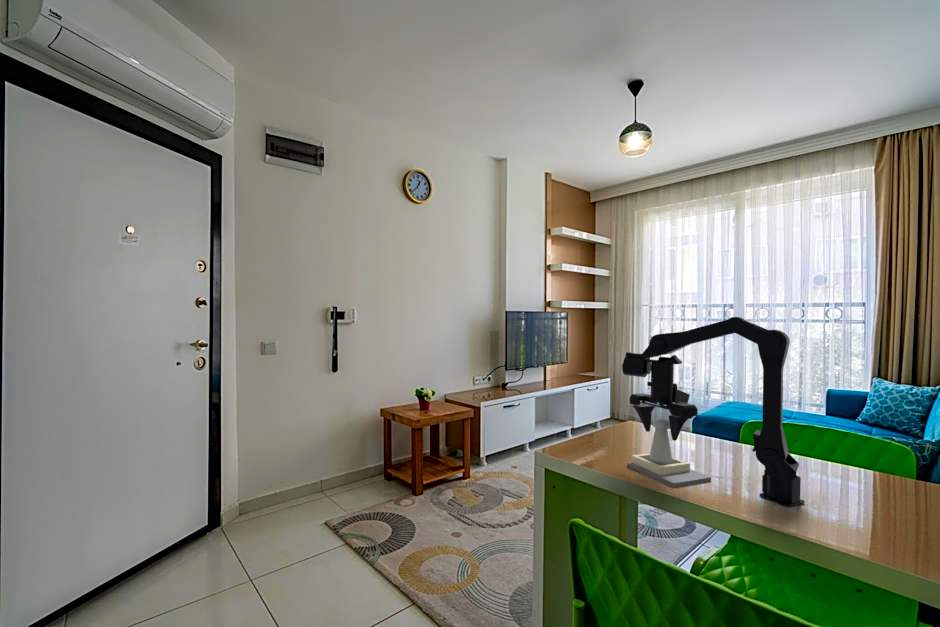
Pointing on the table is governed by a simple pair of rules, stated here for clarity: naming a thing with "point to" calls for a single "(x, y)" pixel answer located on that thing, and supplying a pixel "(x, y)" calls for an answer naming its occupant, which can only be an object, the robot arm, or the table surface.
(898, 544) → the table surface
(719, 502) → the table surface
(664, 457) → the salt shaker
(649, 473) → the build board
